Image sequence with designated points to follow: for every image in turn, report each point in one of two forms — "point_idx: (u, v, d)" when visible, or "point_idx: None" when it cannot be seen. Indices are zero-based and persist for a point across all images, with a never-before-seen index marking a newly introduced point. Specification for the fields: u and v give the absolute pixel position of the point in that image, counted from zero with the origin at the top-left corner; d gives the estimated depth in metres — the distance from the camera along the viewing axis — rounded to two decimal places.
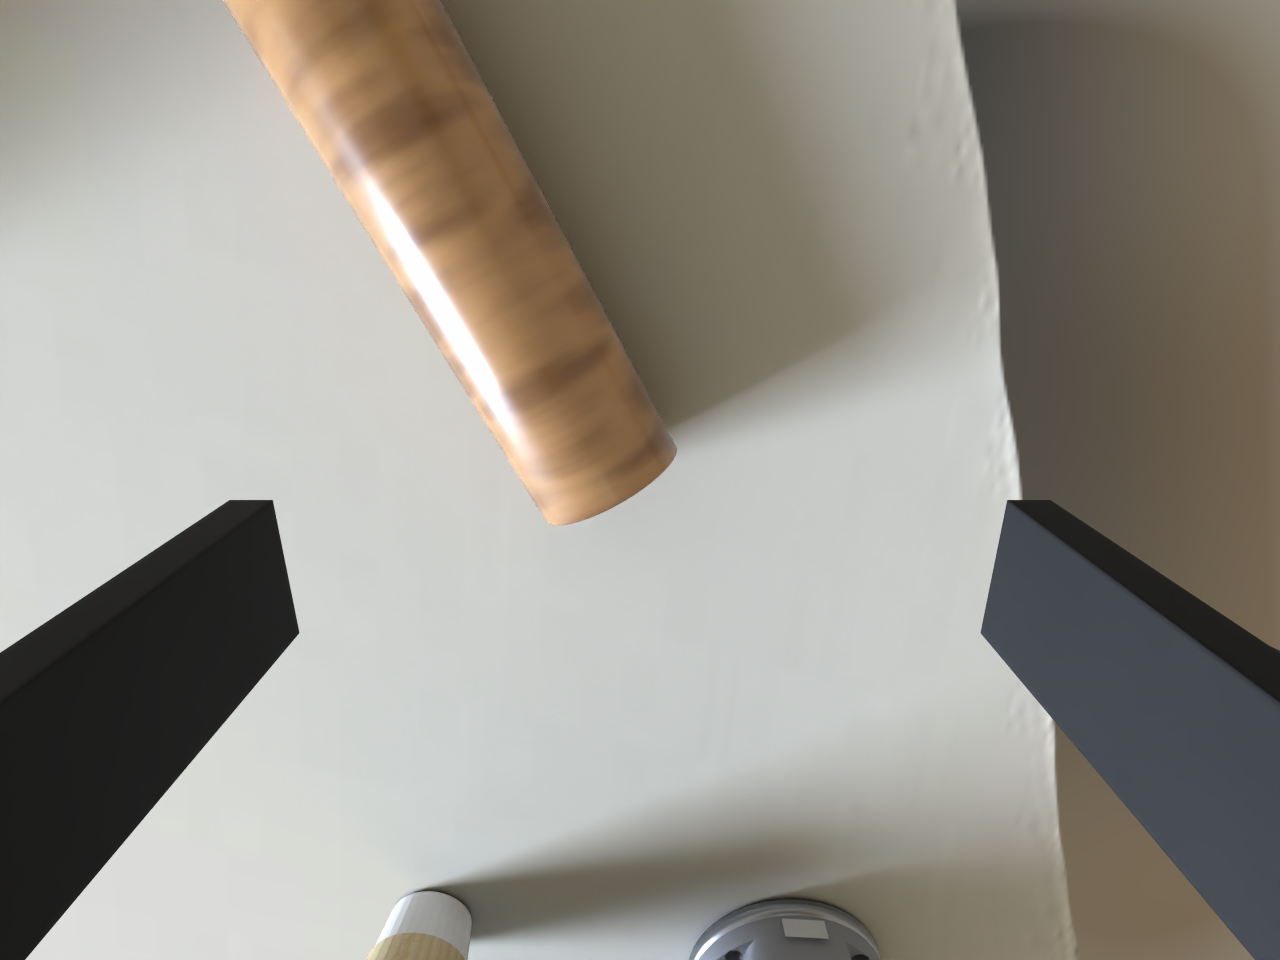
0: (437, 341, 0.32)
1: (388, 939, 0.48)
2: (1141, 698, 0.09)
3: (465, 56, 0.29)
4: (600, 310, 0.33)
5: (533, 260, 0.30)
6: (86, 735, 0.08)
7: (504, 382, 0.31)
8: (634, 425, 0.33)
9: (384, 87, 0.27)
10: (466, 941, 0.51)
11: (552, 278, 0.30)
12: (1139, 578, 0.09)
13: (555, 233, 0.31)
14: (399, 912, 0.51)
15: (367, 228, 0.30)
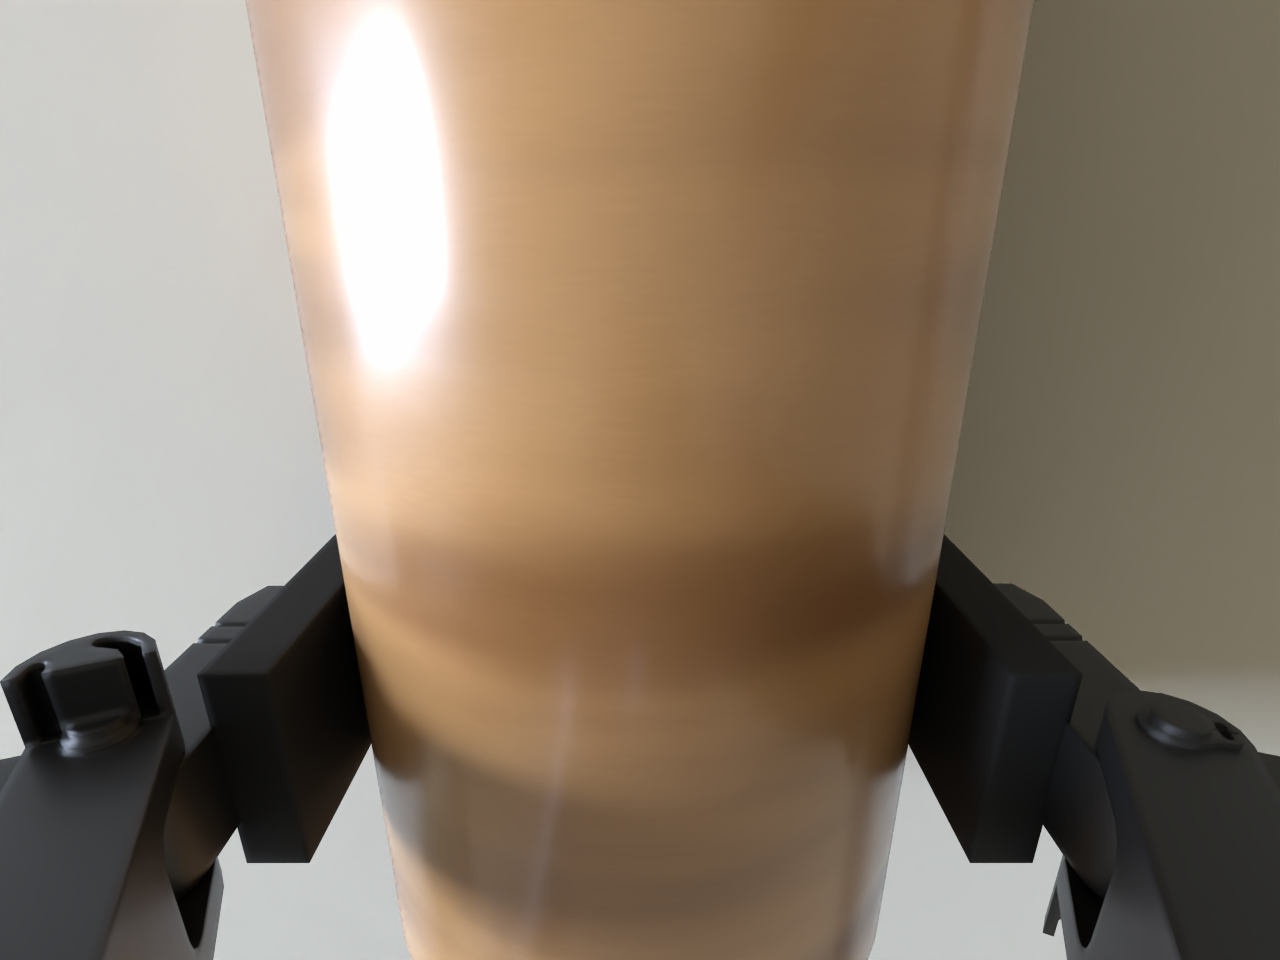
0: (274, 154, 0.06)
1: None
2: None
3: None
4: None
5: None
6: (349, 657, 0.09)
7: (506, 520, 0.06)
8: (878, 836, 0.08)
9: None
10: None
11: (983, 153, 0.06)
12: None
13: None
14: None
15: None
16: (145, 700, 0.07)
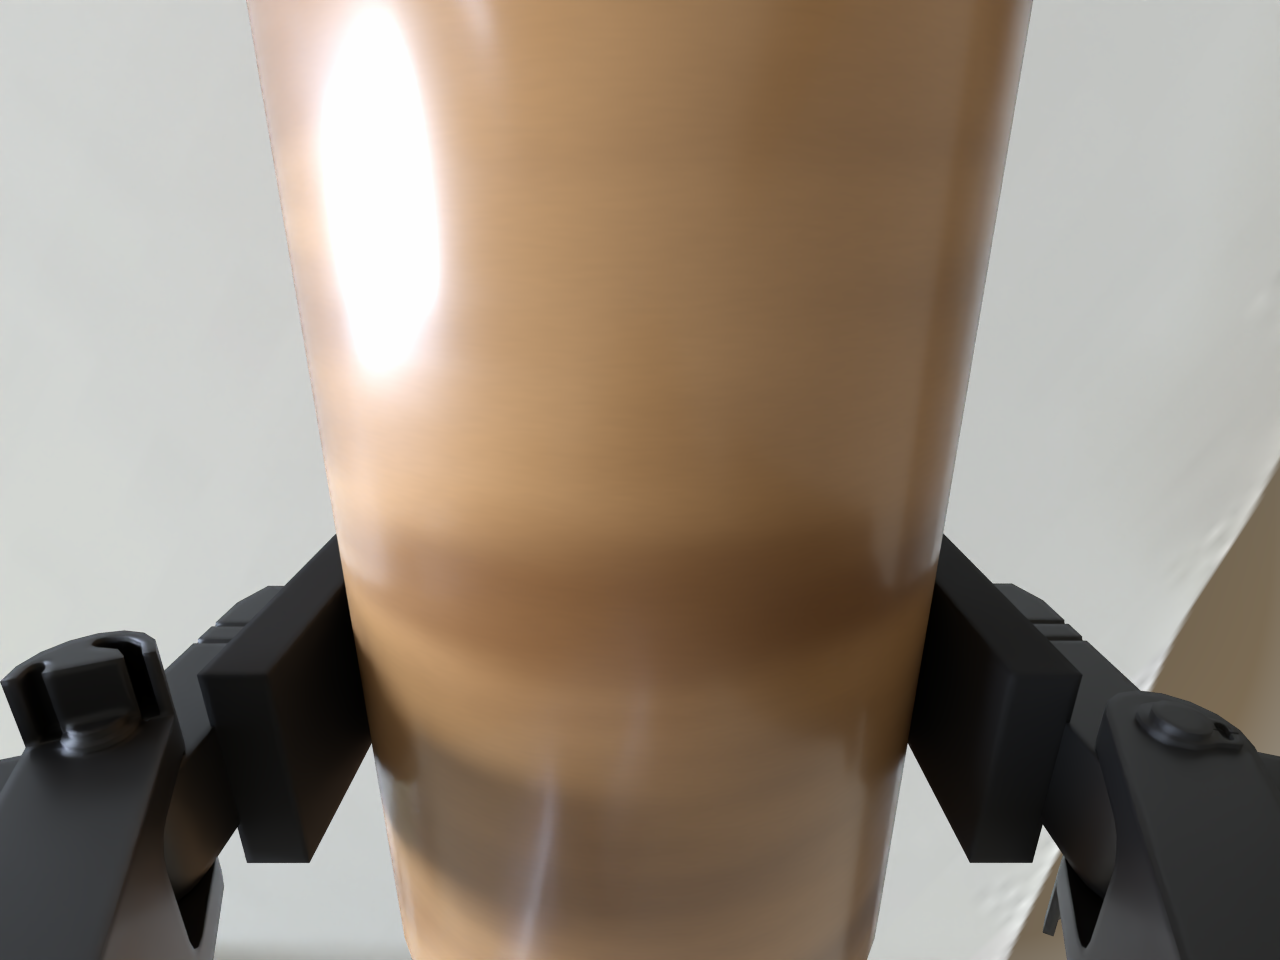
0: (275, 152, 0.06)
1: None
2: None
3: None
4: None
5: None
6: (349, 657, 0.09)
7: (506, 516, 0.06)
8: (877, 835, 0.08)
9: None
10: None
11: (982, 151, 0.06)
12: None
13: None
14: None
15: None
16: (145, 701, 0.07)
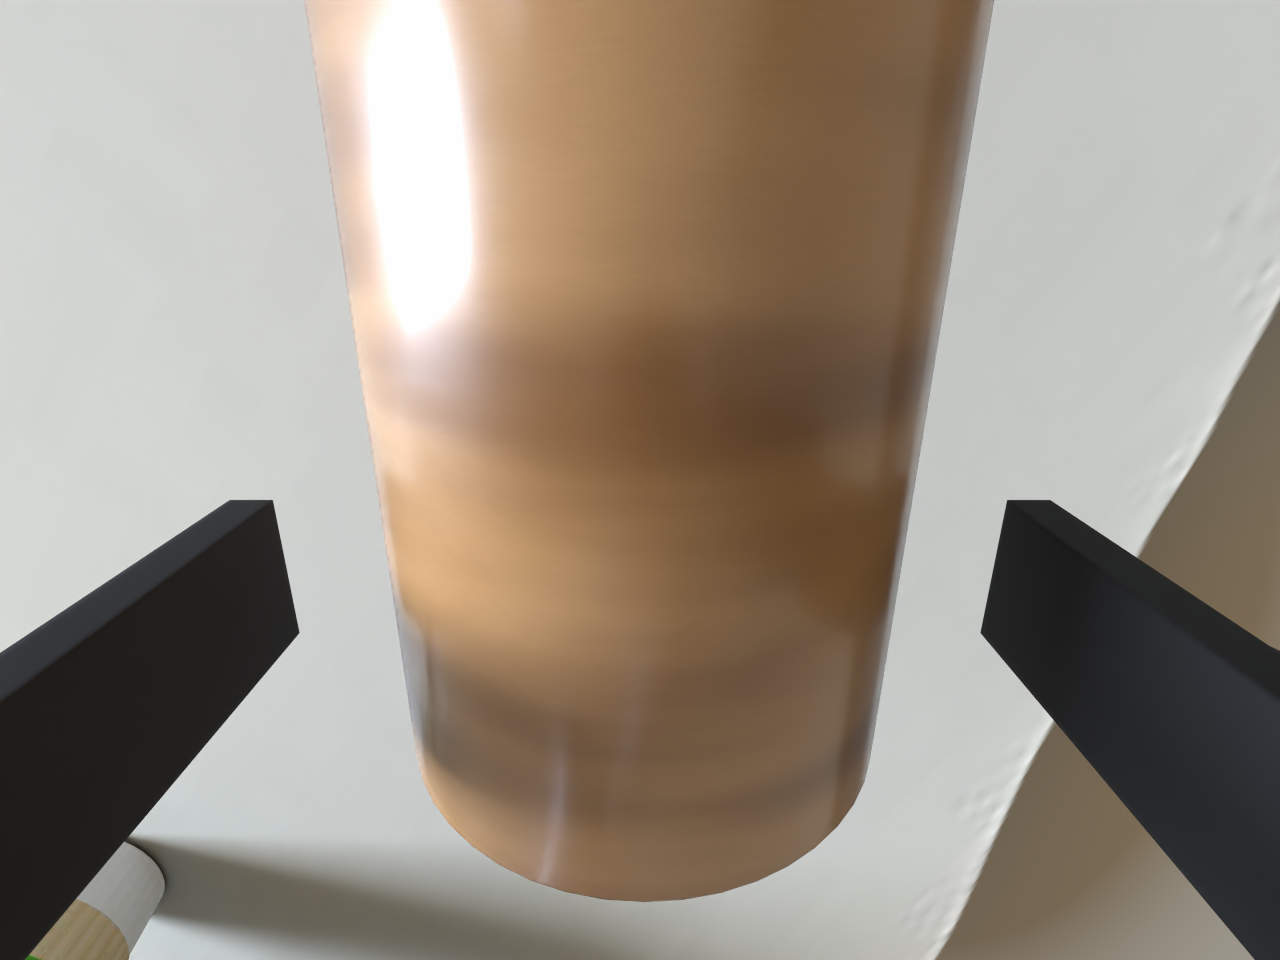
0: None
1: None
2: (1142, 697, 0.09)
3: None
4: None
5: None
6: (86, 735, 0.08)
7: (526, 300, 0.06)
8: (868, 662, 0.09)
9: None
10: (142, 925, 0.37)
11: None
12: (1139, 578, 0.09)
13: None
14: None
15: None
16: None
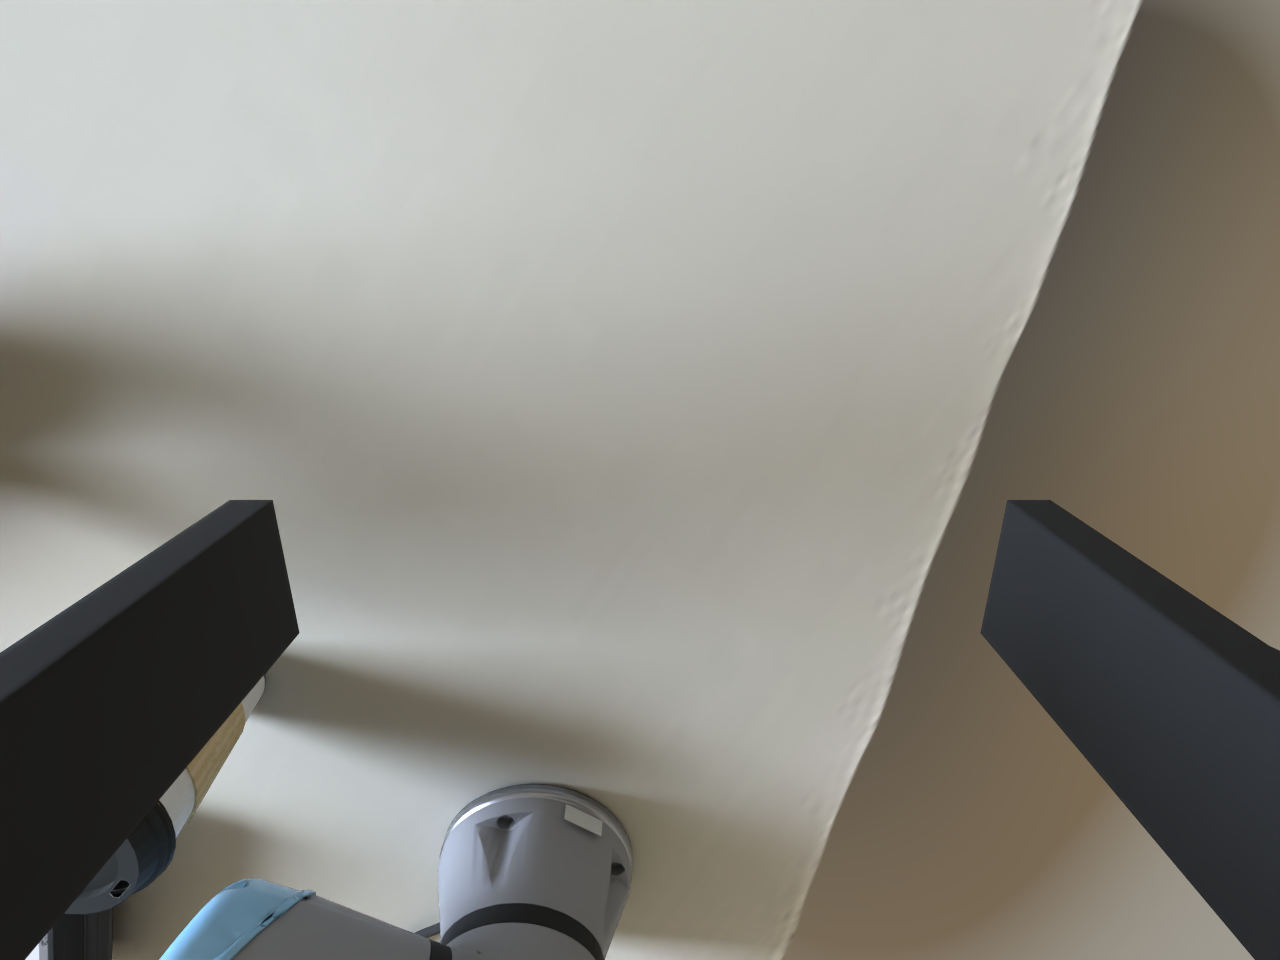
0: None
1: None
2: (1142, 698, 0.09)
3: None
4: None
5: None
6: (86, 735, 0.08)
7: None
8: None
9: None
10: (252, 706, 0.48)
11: None
12: (1139, 578, 0.09)
13: None
14: None
15: None
16: None
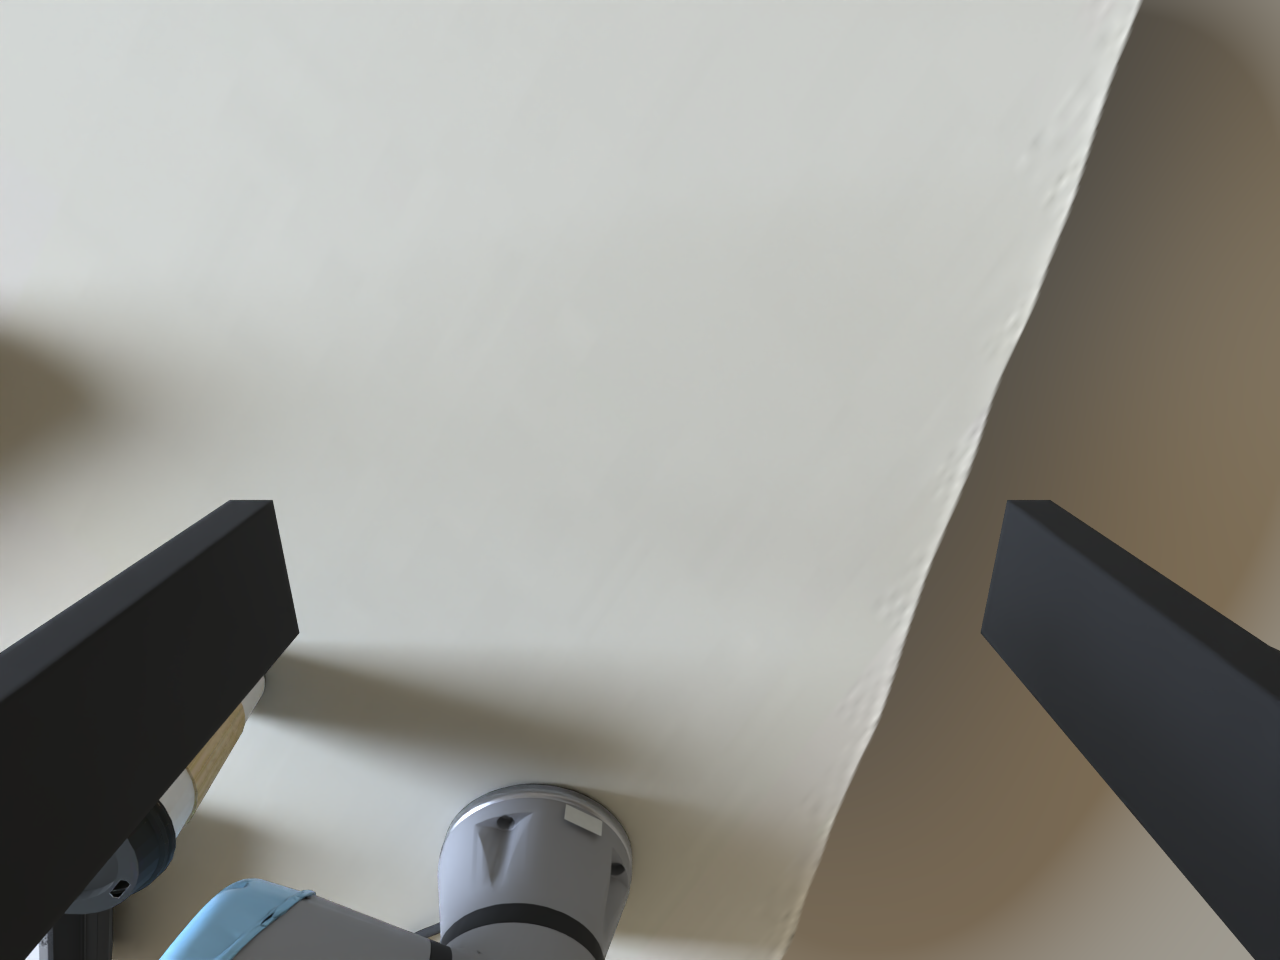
0: None
1: None
2: (1142, 698, 0.09)
3: None
4: None
5: None
6: (86, 735, 0.08)
7: None
8: None
9: None
10: (252, 706, 0.48)
11: None
12: (1139, 578, 0.09)
13: None
14: None
15: None
16: None
